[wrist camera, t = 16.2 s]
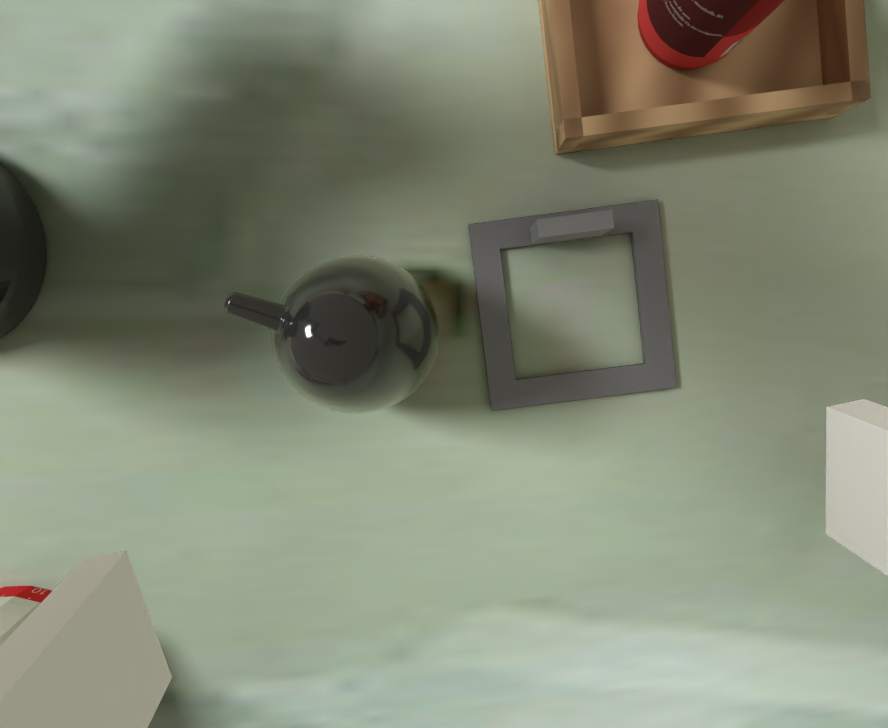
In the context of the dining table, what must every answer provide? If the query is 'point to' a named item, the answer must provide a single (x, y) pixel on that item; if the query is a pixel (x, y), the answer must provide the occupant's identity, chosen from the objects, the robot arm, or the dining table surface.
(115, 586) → the robot arm
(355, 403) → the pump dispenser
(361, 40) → the dining table surface
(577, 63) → the tray
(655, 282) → the frame
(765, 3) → the canned food
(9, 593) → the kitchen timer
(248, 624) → the dining table surface
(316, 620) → the dining table surface
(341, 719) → the dining table surface
